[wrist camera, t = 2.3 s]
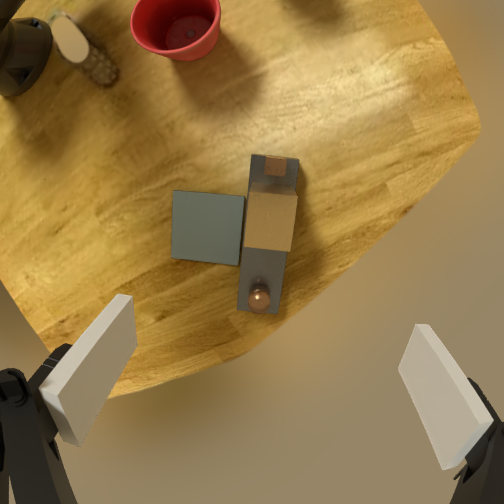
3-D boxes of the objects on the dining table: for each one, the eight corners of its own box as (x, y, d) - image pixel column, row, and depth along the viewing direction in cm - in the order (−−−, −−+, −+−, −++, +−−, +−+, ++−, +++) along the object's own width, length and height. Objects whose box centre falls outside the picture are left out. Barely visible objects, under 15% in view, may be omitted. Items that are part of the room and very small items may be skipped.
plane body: (277, 304, 48) (278, 329, 42) (238, 300, 49) (234, 324, 42) (297, 158, 41) (302, 161, 34) (252, 153, 41) (249, 155, 35)
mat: (172, 256, 47) (171, 257, 46) (174, 190, 43) (173, 190, 43) (238, 263, 47) (238, 265, 46) (244, 196, 43) (244, 197, 43)
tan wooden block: (286, 231, 41) (290, 251, 34) (248, 227, 42) (243, 246, 34) (292, 186, 39) (298, 196, 32) (252, 181, 39) (249, 191, 32)
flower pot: (213, -5, 33) (200, -36, 24) (241, 53, 36) (233, 30, 27) (146, 25, 35) (119, 3, 26) (170, 83, 38) (145, 70, 29)
